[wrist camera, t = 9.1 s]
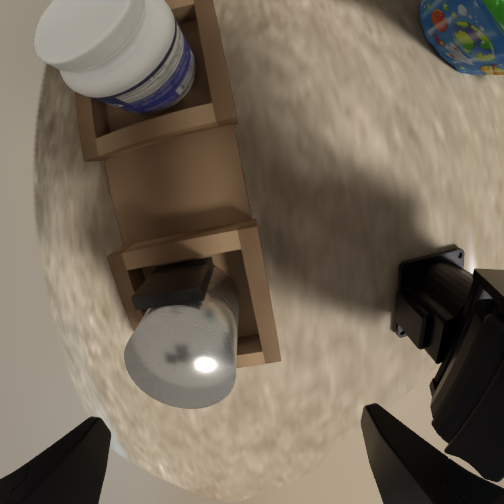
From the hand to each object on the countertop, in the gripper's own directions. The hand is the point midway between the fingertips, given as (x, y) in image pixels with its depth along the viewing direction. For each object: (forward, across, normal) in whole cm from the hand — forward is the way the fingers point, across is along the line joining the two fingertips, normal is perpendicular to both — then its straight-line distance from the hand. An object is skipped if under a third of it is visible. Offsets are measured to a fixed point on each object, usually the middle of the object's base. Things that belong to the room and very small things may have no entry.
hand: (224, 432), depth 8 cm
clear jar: (+10, +2, 0) cm, 10 cm away
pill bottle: (+10, +3, -14) cm, 18 cm away
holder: (+12, +3, -7) cm, 14 cm away
